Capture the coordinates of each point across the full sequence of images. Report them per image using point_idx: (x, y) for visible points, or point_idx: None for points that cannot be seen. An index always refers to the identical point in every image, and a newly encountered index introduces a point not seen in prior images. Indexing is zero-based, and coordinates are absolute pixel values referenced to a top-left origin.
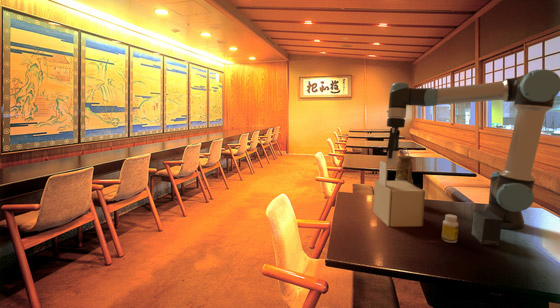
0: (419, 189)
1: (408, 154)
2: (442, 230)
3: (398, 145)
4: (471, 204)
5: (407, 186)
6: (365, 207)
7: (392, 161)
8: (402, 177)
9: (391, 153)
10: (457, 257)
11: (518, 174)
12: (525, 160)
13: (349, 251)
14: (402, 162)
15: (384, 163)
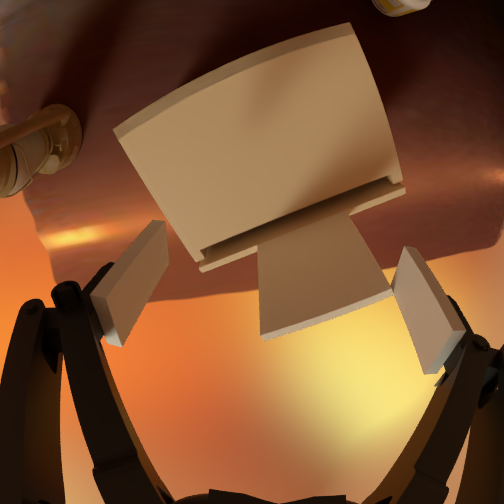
0: (323, 43)
1: None
2: (405, 13)
3: (18, 334)
4: None
5: (269, 101)
6: (168, 231)
7: (428, 273)
8: (8, 168)
9: (466, 329)
10: (469, 26)
11: None
12: None
13: (479, 223)
14: None
15: (360, 307)
